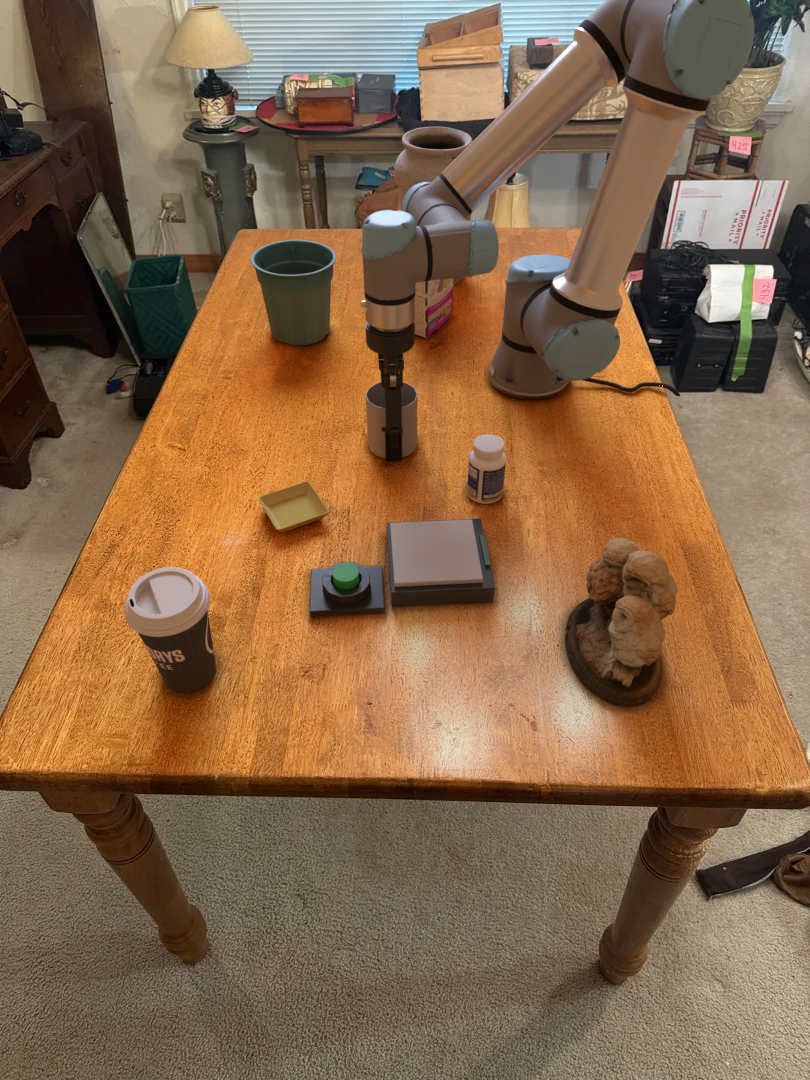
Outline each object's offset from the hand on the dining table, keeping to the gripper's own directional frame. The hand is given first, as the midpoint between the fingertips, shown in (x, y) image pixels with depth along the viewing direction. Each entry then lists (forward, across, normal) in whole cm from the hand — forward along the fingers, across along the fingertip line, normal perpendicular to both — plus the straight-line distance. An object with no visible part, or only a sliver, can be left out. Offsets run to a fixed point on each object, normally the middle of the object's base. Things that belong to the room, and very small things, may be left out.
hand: (392, 441), depth 130 cm
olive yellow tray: (+1, +17, -16) cm, 23 cm away
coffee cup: (+1, +46, -28) cm, 54 cm away
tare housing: (+1, +34, -8) cm, 35 cm away
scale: (+1, +30, +5) cm, 30 cm away
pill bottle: (+1, +14, +14) cm, 20 cm away
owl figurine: (+1, +46, +26) cm, 53 cm away
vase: (+1, -64, +13) cm, 65 cm away
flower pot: (+1, -40, -17) cm, 43 cm away
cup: (+1, 0, 0) cm, 1 cm away
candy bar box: (+1, -41, +10) cm, 42 cm away
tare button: (-2, +34, -8) cm, 35 cm away
